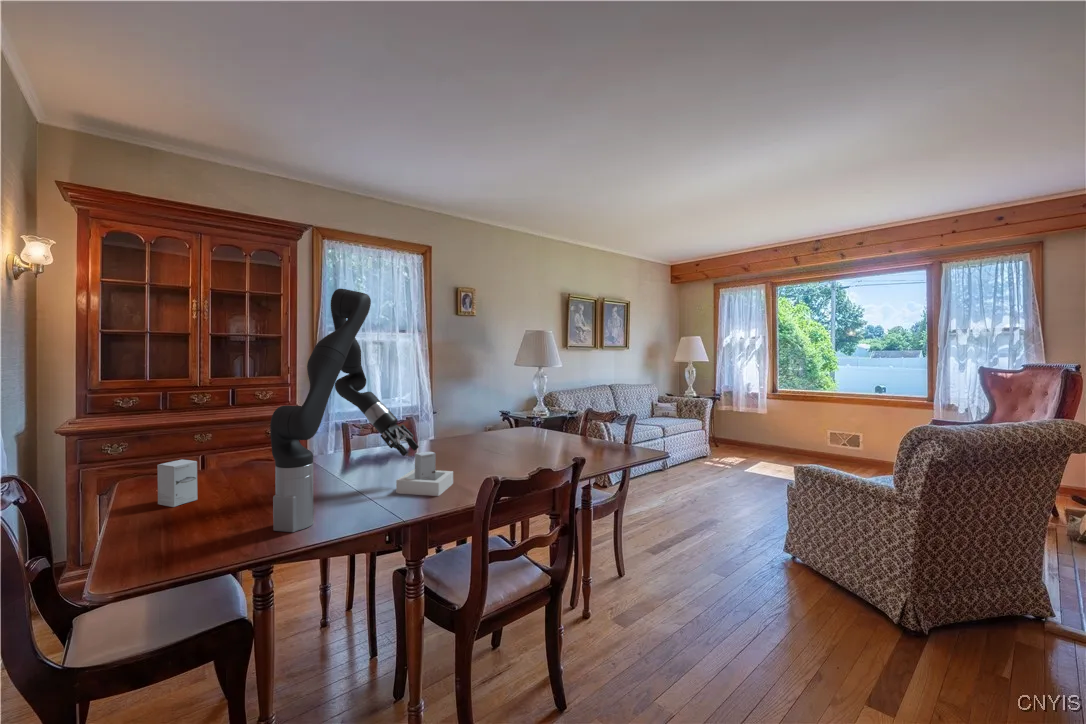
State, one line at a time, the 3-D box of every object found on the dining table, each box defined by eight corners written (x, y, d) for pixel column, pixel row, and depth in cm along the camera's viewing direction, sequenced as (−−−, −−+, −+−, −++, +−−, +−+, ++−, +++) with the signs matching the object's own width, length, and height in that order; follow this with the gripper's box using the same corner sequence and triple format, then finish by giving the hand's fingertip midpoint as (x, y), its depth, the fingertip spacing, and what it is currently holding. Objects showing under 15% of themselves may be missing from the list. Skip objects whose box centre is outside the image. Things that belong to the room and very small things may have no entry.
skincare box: (420, 490, 159) (420, 455, 159) (414, 487, 163) (414, 453, 162) (436, 487, 164) (436, 452, 163) (429, 484, 167) (429, 450, 166)
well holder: (438, 496, 155) (438, 482, 155) (396, 493, 157) (396, 480, 157) (453, 483, 169) (453, 471, 169) (414, 481, 171) (414, 469, 171)
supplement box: (173, 507, 141) (172, 466, 141) (157, 504, 144) (156, 464, 143) (198, 500, 148) (197, 460, 148) (182, 497, 151) (181, 458, 150)
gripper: (377, 413, 157) (409, 448, 156) (397, 407, 171) (427, 440, 170) (363, 428, 158) (394, 463, 157) (384, 421, 172) (413, 454, 171)
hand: (411, 451), depth 163 cm, fingers open, 8 cm apart
